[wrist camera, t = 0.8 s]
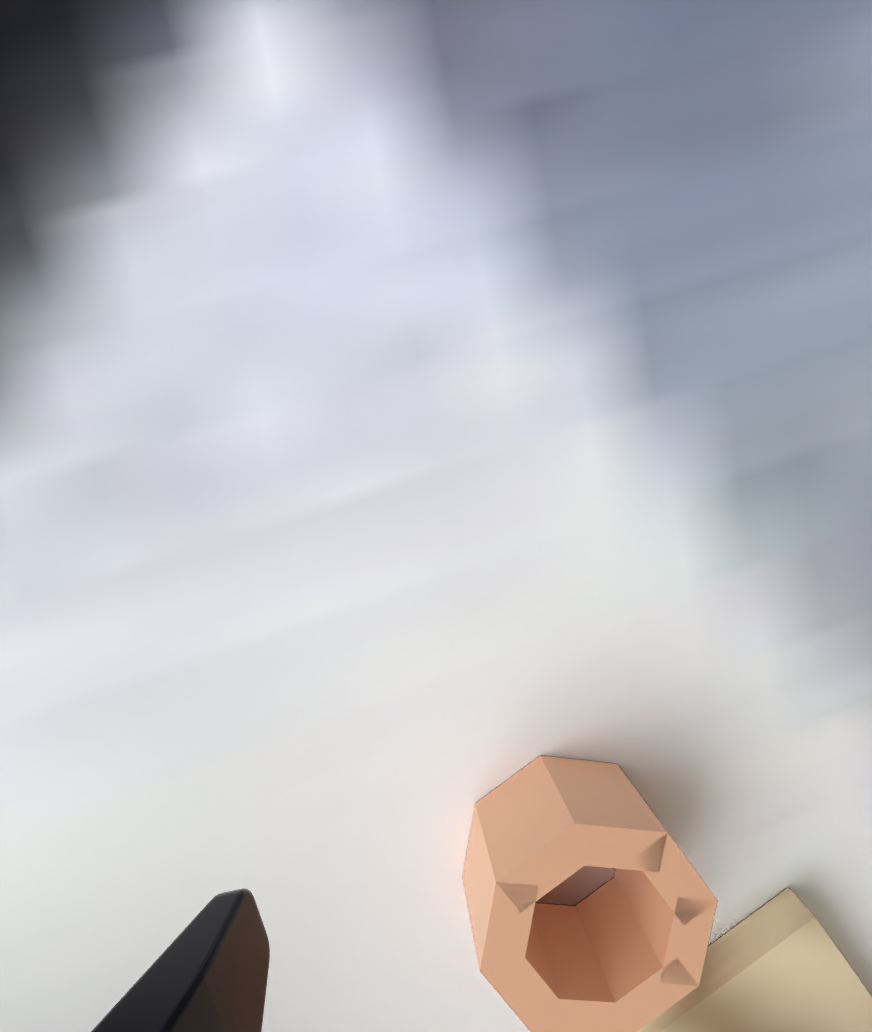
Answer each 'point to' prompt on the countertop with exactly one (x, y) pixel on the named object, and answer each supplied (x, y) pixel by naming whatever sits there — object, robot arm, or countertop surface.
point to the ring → (595, 920)
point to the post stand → (773, 980)
